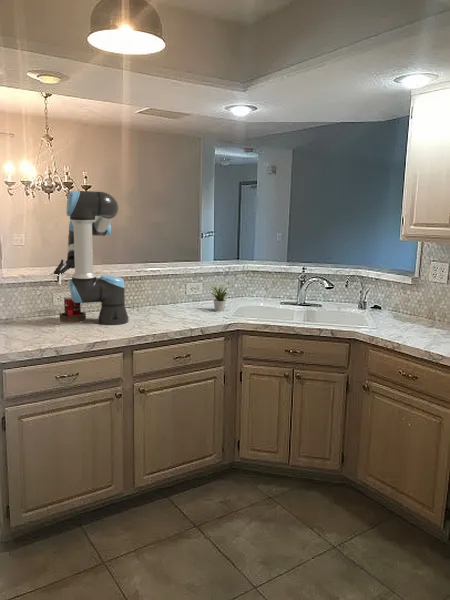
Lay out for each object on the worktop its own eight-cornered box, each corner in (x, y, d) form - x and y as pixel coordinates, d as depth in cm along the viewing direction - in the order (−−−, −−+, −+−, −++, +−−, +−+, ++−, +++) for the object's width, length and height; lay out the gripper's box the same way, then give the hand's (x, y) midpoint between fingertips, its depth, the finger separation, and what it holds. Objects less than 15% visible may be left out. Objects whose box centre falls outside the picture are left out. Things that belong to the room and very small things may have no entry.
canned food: (66, 316, 262) (65, 295, 260) (82, 316, 263) (81, 295, 261) (63, 319, 255) (62, 298, 253) (79, 319, 255) (78, 298, 253)
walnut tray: (91, 319, 261) (90, 313, 261) (72, 323, 250) (72, 317, 250) (72, 316, 267) (72, 310, 267) (54, 320, 256) (54, 314, 256)
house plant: (202, 312, 283) (202, 283, 280) (208, 307, 296) (208, 280, 293) (226, 313, 280) (227, 284, 277) (231, 309, 293) (232, 281, 290)
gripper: (98, 258, 283) (97, 288, 271) (51, 258, 278) (49, 289, 266) (97, 249, 277) (97, 280, 265) (50, 249, 272) (47, 281, 260)
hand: (73, 285), depth 265 cm, fingers open, 13 cm apart
